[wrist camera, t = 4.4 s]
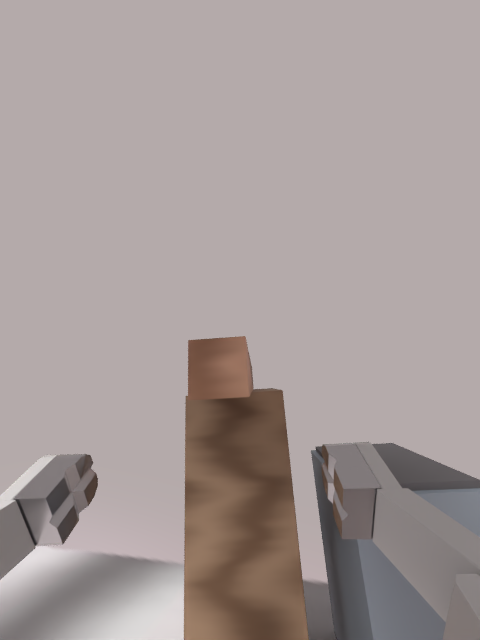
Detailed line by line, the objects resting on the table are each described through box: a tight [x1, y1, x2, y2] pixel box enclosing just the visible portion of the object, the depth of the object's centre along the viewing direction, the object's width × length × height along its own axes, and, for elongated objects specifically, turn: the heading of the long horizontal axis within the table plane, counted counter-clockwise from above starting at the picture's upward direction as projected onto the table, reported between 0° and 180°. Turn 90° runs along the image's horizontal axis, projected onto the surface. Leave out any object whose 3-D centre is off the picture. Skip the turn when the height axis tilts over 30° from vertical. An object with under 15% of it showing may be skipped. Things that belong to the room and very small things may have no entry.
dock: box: [311, 443, 480, 640], centre depth 20 cm, size 10×12×17 cm
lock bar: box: [188, 336, 253, 400], centre depth 22 cm, size 3×22×3 cm, turn 176°
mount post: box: [184, 388, 309, 640], centre depth 21 cm, size 8×12×24 cm, turn 176°
